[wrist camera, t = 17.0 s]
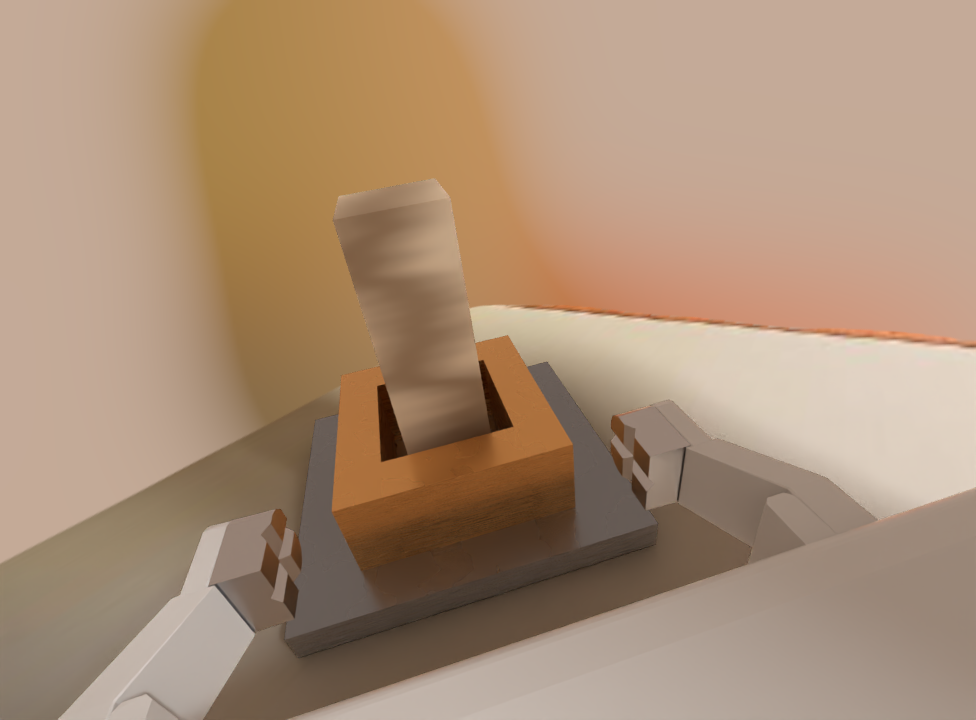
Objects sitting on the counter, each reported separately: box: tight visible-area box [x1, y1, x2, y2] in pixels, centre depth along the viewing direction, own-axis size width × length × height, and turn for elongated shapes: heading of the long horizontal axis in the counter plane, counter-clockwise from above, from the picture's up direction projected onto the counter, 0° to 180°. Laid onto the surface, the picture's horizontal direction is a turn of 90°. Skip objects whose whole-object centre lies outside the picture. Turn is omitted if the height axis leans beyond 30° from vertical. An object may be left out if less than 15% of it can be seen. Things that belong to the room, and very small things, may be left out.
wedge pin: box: [333, 179, 491, 455], centre depth 21 cm, size 4×4×14 cm
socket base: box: [284, 335, 658, 658], centre depth 24 cm, size 16×14×6 cm
